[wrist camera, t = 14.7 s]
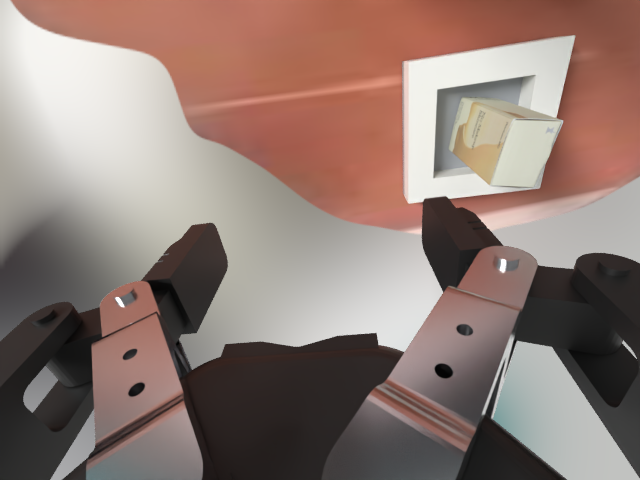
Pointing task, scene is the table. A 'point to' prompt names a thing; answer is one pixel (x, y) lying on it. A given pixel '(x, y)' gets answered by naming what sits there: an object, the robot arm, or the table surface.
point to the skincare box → (503, 141)
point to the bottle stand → (471, 81)
